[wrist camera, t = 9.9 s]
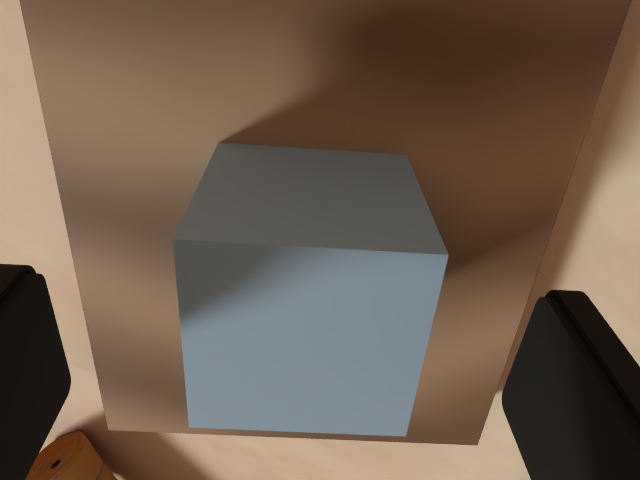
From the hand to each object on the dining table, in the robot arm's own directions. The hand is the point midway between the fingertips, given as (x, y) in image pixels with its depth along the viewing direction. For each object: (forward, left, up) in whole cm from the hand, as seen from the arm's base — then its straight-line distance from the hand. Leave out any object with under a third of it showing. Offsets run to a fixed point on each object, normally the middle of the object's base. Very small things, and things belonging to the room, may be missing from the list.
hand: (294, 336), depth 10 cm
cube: (+1, 0, -5) cm, 5 cm away
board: (+1, 0, -7) cm, 7 cm away
